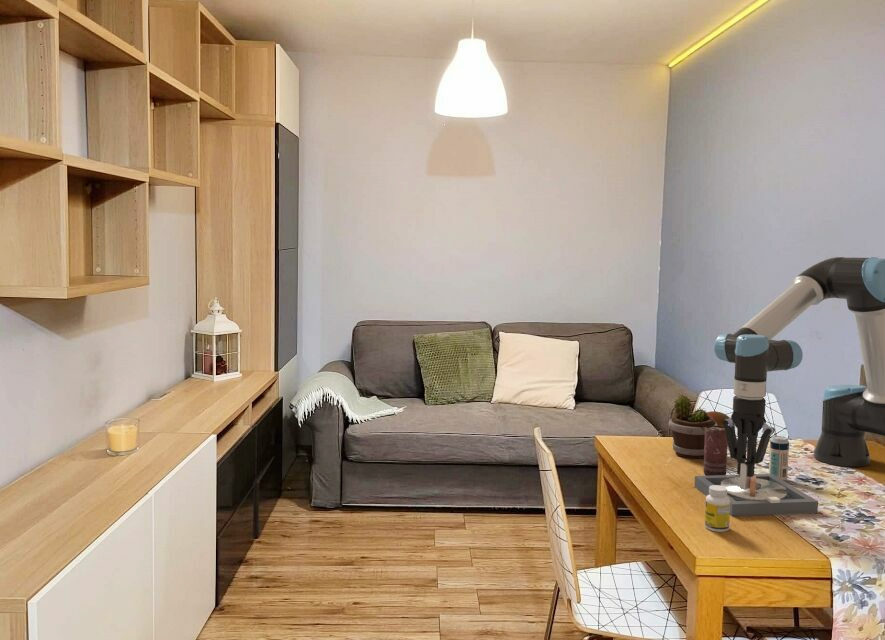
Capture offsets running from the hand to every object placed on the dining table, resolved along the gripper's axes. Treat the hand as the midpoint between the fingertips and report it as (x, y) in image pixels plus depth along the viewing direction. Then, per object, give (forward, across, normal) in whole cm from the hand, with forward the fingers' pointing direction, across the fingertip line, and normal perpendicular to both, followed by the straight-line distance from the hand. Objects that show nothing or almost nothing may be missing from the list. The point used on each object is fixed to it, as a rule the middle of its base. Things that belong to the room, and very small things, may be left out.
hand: (744, 487), depth 189 cm
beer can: (+5, -4, +28) cm, 28 cm away
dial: (+3, -1, +6) cm, 7 cm away
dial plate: (+5, -1, +6) cm, 8 cm away
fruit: (+5, -37, +53) cm, 65 cm away
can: (+5, -18, +18) cm, 25 cm away
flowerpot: (+5, -33, +32) cm, 46 cm away
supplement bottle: (+5, +3, -19) cm, 19 cm away
